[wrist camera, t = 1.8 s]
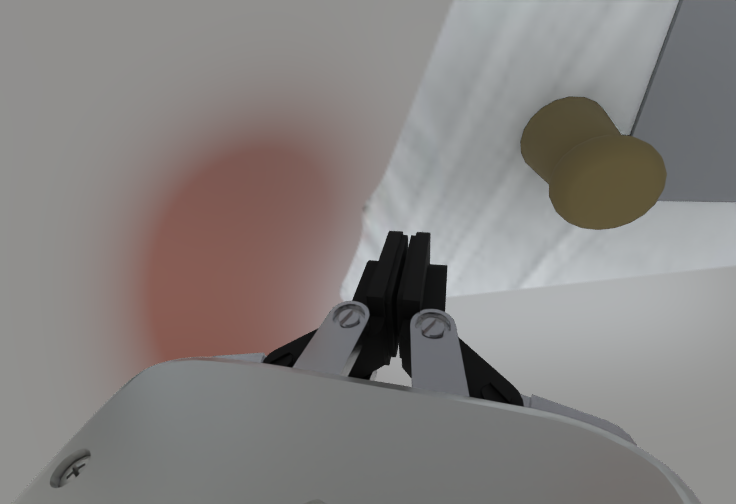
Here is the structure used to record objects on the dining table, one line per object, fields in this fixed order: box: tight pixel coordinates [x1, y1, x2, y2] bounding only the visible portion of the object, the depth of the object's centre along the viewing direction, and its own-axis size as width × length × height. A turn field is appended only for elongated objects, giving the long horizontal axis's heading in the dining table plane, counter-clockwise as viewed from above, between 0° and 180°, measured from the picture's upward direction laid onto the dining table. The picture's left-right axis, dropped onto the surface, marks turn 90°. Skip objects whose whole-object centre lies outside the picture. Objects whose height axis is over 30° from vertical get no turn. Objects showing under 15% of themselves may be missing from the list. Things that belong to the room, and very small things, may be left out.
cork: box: [521, 97, 667, 230], centre depth 20 cm, size 6×6×11 cm
